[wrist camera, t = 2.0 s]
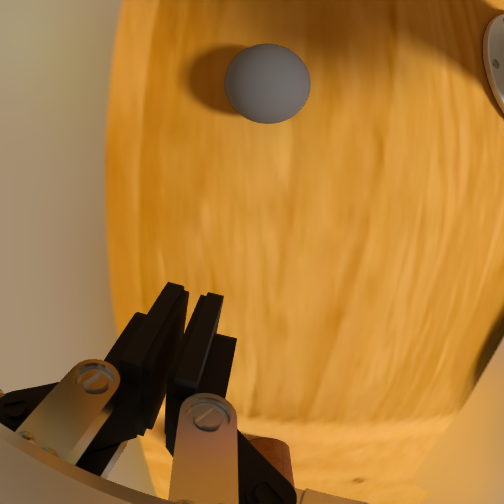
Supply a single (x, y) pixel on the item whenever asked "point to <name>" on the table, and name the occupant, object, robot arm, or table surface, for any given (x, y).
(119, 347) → the robot arm
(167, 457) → the table surface
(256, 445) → the disposable coffee cup
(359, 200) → the table surface
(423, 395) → the table surface
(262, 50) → the gray ball
